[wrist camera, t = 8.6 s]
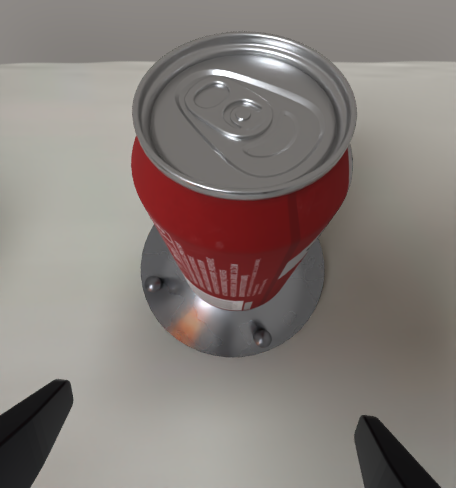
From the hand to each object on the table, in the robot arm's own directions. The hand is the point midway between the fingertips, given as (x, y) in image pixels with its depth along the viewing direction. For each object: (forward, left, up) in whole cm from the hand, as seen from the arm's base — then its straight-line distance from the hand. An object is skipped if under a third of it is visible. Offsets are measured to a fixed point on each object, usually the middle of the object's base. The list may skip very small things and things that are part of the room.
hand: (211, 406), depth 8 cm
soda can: (+7, -3, -7) cm, 10 cm away
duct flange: (+7, -3, -8) cm, 11 cm away
